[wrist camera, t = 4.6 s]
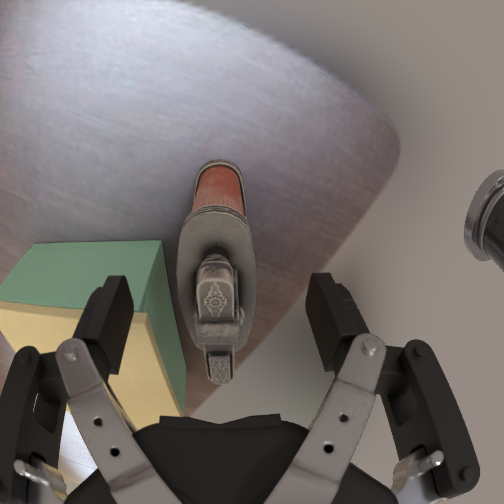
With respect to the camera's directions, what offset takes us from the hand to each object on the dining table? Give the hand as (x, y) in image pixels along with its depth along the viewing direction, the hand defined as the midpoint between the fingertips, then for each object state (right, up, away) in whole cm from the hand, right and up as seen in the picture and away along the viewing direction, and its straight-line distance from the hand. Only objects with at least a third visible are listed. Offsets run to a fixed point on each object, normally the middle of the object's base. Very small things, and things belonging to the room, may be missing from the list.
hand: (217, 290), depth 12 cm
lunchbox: (-11, -4, +10) cm, 16 cm away
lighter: (-1, +4, +6) cm, 8 cm away
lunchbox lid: (-10, -8, +5) cm, 14 cm away
